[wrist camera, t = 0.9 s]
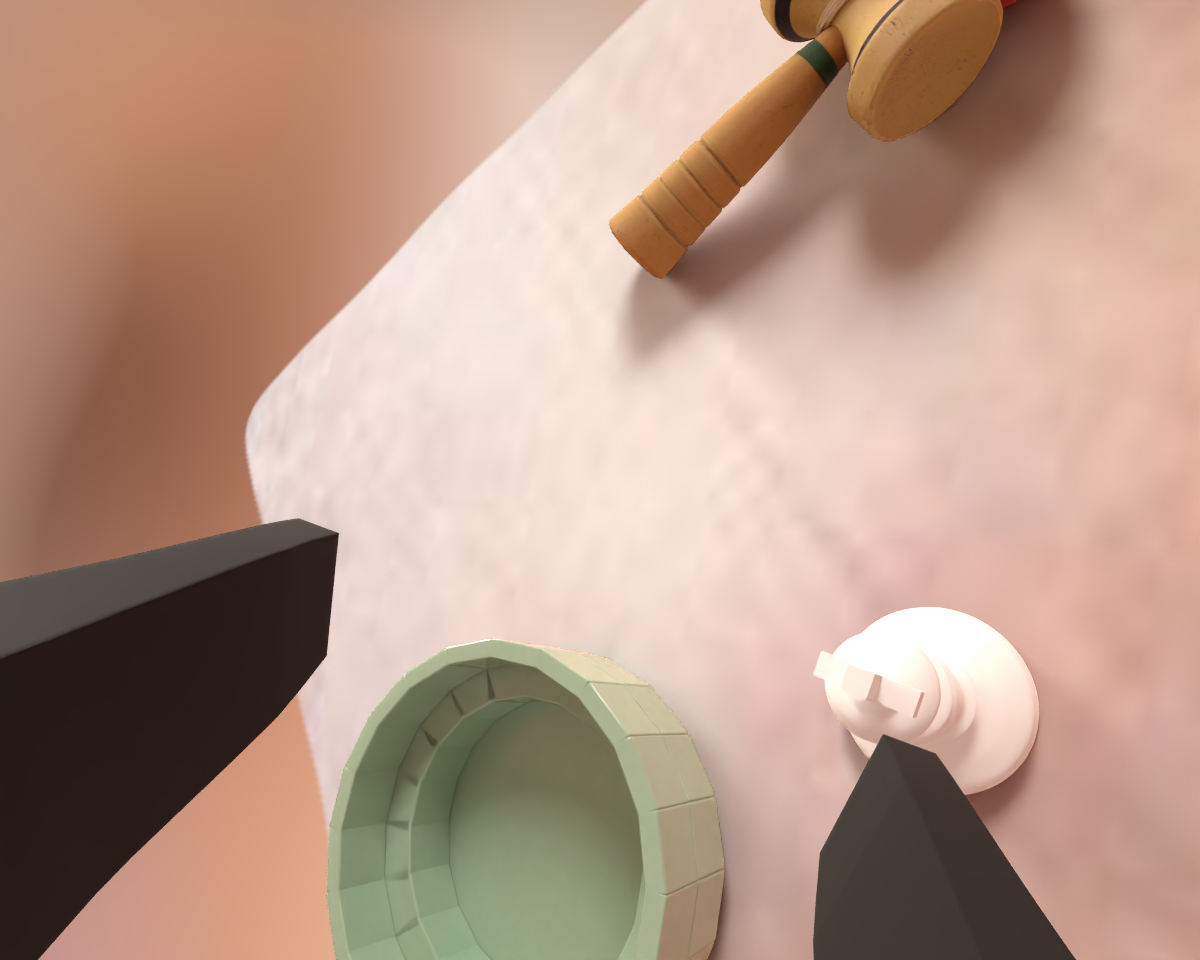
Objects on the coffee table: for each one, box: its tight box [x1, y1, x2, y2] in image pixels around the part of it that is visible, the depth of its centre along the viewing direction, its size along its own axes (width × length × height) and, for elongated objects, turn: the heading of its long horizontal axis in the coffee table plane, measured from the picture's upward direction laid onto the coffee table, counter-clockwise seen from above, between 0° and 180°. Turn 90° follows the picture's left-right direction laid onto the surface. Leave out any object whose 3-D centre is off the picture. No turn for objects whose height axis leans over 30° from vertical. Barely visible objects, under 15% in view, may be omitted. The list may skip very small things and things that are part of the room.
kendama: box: [609, 0, 1017, 279], centre depth 24 cm, size 8×6×18 cm
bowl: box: [326, 638, 725, 960], centre depth 22 cm, size 12×12×4 cm
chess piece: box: [813, 607, 1039, 795], centre depth 16 cm, size 5×5×10 cm
